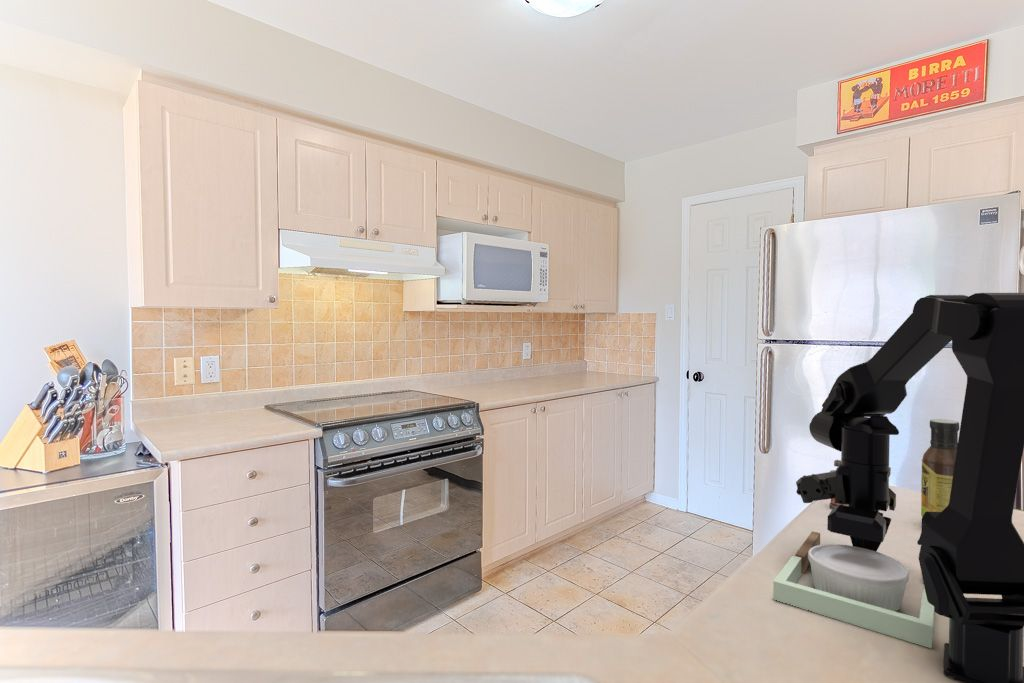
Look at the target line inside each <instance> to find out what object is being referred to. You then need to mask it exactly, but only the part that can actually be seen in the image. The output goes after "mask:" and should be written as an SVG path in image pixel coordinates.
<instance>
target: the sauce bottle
mask: <svg viewBox="0 0 1024 683" xmlns="http://www.w3.org/2000/svg"><path fill="white" fill-rule="evenodd" d="M929 428H930V441H929V442H930V445H929V447H928V448H927V449H926V451H925V452H924V453H923V456H922V459H921V478H920V479H921V481H920V482H921V484H920V485H921V491H920V492H921V494H920V496H921V498H920V499H921V500H920V502H921V503H920V504H921V505H920V515H921V517H923V515H924V514H925V512H927V511H928V512H942V511H943V510H944V509H945V508H946V507H947V506H948V504H949V500H950V493H951V487H952V480H953V473H954V466H955V459H956V453H957V446H958V439H959V432H960V423H959V421H958V420H954V419H953V420H952V419H946V418H944V419H943V418H932V419H930V420H929Z"/></svg>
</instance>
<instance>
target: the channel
mask: <svg viewBox="0 0 1024 683" xmlns="http://www.w3.org/2000/svg"><path fill="white" fill-rule="evenodd" d="M818 545H821V532H818V531H811V532H810V533H809V535H808V536H807V538H806V539H805V540H804V542H803V543H802V545H801V546H800V547H799V549H798V550H797V552H796V553H795V554H794V556H797V557H801V558H802V560H801V574H802V575H805V573H806V571H807V570H808V568H809V567H810V566H811V564H810V561H809V559H808V551H809V550H810V549H811V548H812V547H814V546H818ZM922 583H923V584H924V582H923V581H922Z"/></svg>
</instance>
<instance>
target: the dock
mask: <svg viewBox="0 0 1024 683" xmlns="http://www.w3.org/2000/svg"><path fill="white" fill-rule="evenodd" d="M801 560H802V558H801V557H797V556H795V555H792V556H790V558H789V560H788V561H787V562H786V563H785V565H783V568H782V569H781V570H780V572H779V573H778V574H777V575H776V577H775V578H774V580H773V593H772V594H773V597H772V598H773V599H774V600H773V601H776V600H777V601H776V602H779V601H780V602H779V603H782V602H783V604H785V603H787V604H786V605H789V604H790V605H789V606H792V605H793V607H795V606H796V608H798V607H799V608H798V609H803V610H805V611H808V610H809V611H808V612H811V611H812V613H815V614H819V615H821V616H825V617H828V618H831V619H834V620H837V621H841V622H844V623H847V624H850V625H853V626H854V625H855V626H857V627H861V628H863V629H867V630H870V631H872V632H873V631H874V632H876V633H880V634H883V635H887V636H889V637H893V638H895V639H898V640H899V639H900V640H902V641H906V642H909V643H912V644H916V645H919V646H922V647H924V648H925V647H926V648H929V649H932V650H933V638H934V628H935V627H934V625H935V613H936V612H935V611H934V606H933V605H931V604H930V603H929V602H928V600H927V596H926V592H925V587H924V588H923V589H922V594H921V595H922V596H921V602H920V610H919V617H915V616H912V615H909V614H905V613H901V612H898V611H896V612H895V611H891V610H888V609H884V608H881V607H877V606H874V605H870V604H867V603H863V602H859V601H856V600H852V599H849V598H845V597H842V596H838V595H835V594H831V593H828V592H824V591H821V590H817V589H815V588H813V587H810V586H806V585H802V584H799V583H797V582H798V581H799V579H800V577H801V576H802V573H801Z"/></svg>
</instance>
